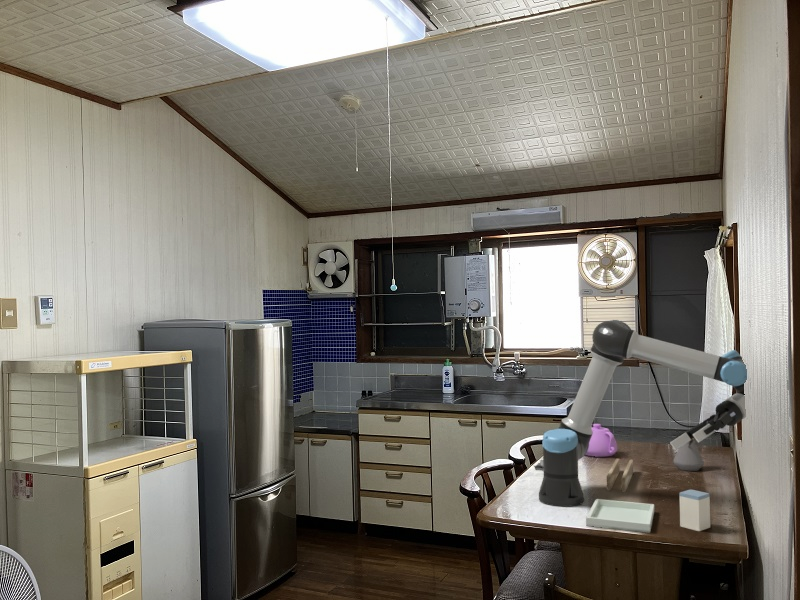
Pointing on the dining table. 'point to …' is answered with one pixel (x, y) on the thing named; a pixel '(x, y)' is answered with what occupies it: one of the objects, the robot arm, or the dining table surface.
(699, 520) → the white boxy piece
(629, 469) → the wooden napkin holder
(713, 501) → the dining table surface
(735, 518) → the dining table surface
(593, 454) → the teapot
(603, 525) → the tray
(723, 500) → the dining table surface
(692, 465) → the coffee pot
